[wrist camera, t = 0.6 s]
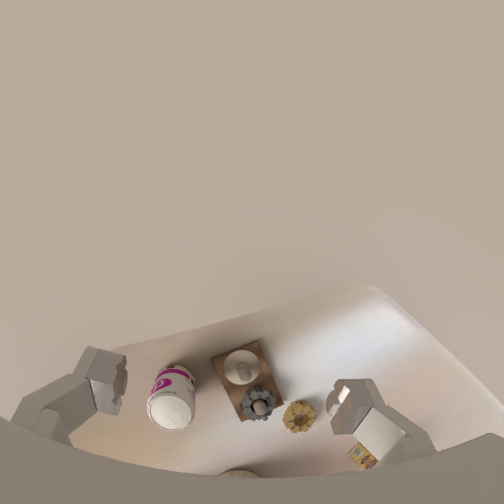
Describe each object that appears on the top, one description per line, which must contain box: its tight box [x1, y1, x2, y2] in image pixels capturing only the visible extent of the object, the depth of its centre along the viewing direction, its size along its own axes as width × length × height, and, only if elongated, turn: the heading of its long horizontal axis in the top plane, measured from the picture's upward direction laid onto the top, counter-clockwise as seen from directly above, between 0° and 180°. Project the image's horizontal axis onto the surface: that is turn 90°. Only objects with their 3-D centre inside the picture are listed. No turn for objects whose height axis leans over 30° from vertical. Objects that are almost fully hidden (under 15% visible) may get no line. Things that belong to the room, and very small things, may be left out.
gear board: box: [211, 340, 284, 422], centre depth 57 cm, size 16×10×6 cm, turn 21°
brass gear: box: [282, 401, 317, 433], centre depth 60 cm, size 7×7×3 cm
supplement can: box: [147, 365, 195, 431], centre depth 50 cm, size 8×8×15 cm
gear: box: [240, 385, 277, 421], centre depth 56 cm, size 7×7×5 cm
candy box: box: [349, 443, 379, 470], centre depth 56 cm, size 9×4×15 cm, turn 48°
